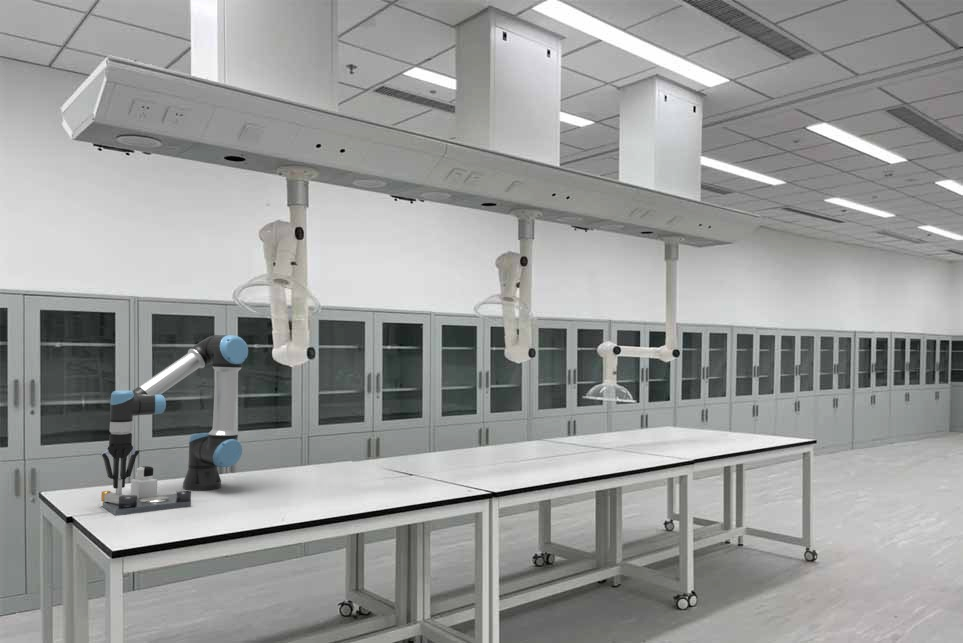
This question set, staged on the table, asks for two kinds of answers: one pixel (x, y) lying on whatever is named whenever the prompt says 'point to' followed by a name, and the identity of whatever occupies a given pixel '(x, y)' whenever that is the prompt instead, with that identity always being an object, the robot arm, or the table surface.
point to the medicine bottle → (144, 483)
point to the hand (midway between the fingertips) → (118, 496)
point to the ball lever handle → (119, 499)
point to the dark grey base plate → (147, 505)
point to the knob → (183, 496)
